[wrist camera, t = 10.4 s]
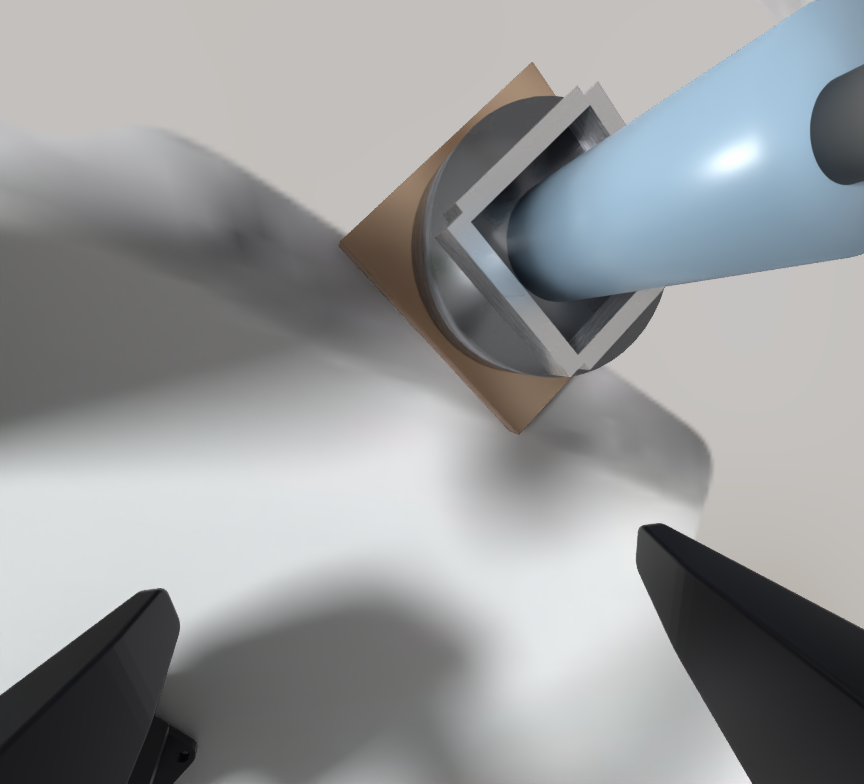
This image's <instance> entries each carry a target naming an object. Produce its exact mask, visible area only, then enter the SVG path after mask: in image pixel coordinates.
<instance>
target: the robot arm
mask: <svg viewBox="0 0 864 784" xmlns="http://www.w3.org/2000/svg"><path fill="white" fill-rule="evenodd" d="M636 565H637V569H638V572H639V574H640V576H641V579H642V581H643V583H644V585H645V587H646V590H647V592H648V594H649V596H650V598H651V600H652V603H653V605H654V607H655V609H656V611H657V613H658V616H659V618H660V620H661V622H662V624H663V627H664V629H665V631H666V633H667V635H668V637H669V640H670V642H671V644H672V646H673V648H674V650H675V652H676V653H677V655H678V657H679V659H680V661H681V662H682V664H683V666H684V668H685V669H686V671H687V673H688V675H689V676H690V678H691V680H692V681H693V683H694V685H695V687H696V688H697V690H698V692H699V693H700V695H701V697H702V699H703V700H704V702H705V704H706V705H707V707H708V709H709V710H710V712H711V714H712V716H713V717H714V719H715V721H716V722H717V724H718V726H719V728H720V729H721V731H722V733H723V734H724V736H725V738H726V740H727V741H728V743H729V745H730V746H731V748H732V750H733V752H734V753H735V755H736V757H737V758H738V760H739V762H740V764H741V765H742V767H743V769H744V770H745V772H746V774H747V776H748V777H749V779H750V781H751V782H752V784H864V629H862V628H860V627H859V626H857V625H855V624H853V623H851V622H849V621H847V620H845V619H843V618H841V617H839V616H838V615H836V614H834V613H832V612H830V611H828V610H826V609H824V608H822V607H820V606H819V605H817V604H815V603H813V602H811V601H809V600H807V599H805V598H803V597H802V596H800V595H798V594H796V593H794V592H792V591H790V590H788V589H786V588H784V587H783V586H781V585H779V584H777V583H775V582H773V581H771V580H769V579H767V578H765V577H764V576H761V575H760V574H758V573H756V572H754V571H752V570H750V569H748V568H746V567H745V566H743V565H741V564H739V563H737V562H735V561H733V560H731V559H729V558H727V557H725V556H723V555H722V554H720V553H718V552H716V551H714V550H712V549H710V548H708V547H706V546H705V545H703V544H701V543H699V542H697V541H695V540H693V539H691V538H689V537H688V536H686V535H684V534H682V533H680V532H678V531H676V530H674V529H672V528H670V527H669V526H667V525H664V524H662V523H656V524H648V525H643V526H641V527H640V528H639V530H638V537H637V550H636ZM179 631H180V622H179V618H178V615H177V613H176V610H175V608H174V606H173V603H172V601H171V599H170V596H169V594H168V592H167V591H166V590H165V589H162V588H157V589H149V590H143V591H140V592H138V593H137V594H135V595H134V596H133V597H131V598H130V599H129V600H127V601H126V602H125V603H123V604H122V605H120V606H119V607H118V608H116V609H115V610H114V611H112V612H111V613H110V614H108V615H107V616H106V617H104V618H103V619H102V620H100V621H99V622H98V623H96V624H95V625H94V626H92V627H91V628H90V629H88V630H87V631H86V632H84V633H83V634H82V635H80V636H79V637H78V638H76V639H75V640H74V641H72V642H71V643H70V644H68V645H67V646H66V647H64V648H63V649H62V650H60V651H59V652H58V653H56V654H55V655H54V656H52V657H51V658H50V659H48V660H47V661H46V662H44V663H43V664H42V665H40V666H39V667H38V668H36V669H35V670H34V671H32V672H31V673H30V674H28V675H27V676H25V677H24V678H23V679H21V680H20V681H19V682H17V683H16V684H15V685H13V686H12V687H11V688H9V689H8V690H7V691H5V692H4V693H3V694H1V695H0V784H173V783H174V782H175V781H176V780H177V779H178V777H179V776H180V775H181V774H182V773H183V772H184V771H185V770H186V769H187V768H188V767H189V766H190V764H191V763H192V762H193V761H194V759H195V756H196V752H197V747H198V746H197V742H195V741H194V740H193V739H192V738H190V737H188V736H187V735H185V734H183V733H182V732H180V731H178V730H176V729H175V728H173V727H171V726H170V725H168V724H167V723H166V722H164V721H162V720H161V719H159V718H157V717H156V716H154V714H155V711H156V708H157V705H158V701H159V698H160V695H161V692H162V688H163V685H164V682H165V678H166V675H167V672H168V668H169V665H170V662H171V659H172V655H173V652H174V649H175V645H176V642H177V639H178V635H179ZM183 751H185V752H188V754H184V755H183V754H180V752H183Z"/></svg>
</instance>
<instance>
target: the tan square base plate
mask: <svg viewBox="0 0 864 784" xmlns="http://www.w3.org/2000/svg"><path fill="white" fill-rule="evenodd" d="M625 125H626V124H625V123H624V121H623V119H622V118H621V116H620V115H619V113H618V112H617V110H616V109H615V107H614V105H613V104H612V102H611V101H610V99H609V98H608V96H607V94H606V93H605V91H604V90H603V88H602V87H601V85H600V84H599V82H597V83H596V84H594V85H593V86H592V87H591V88H590V89H589V90H588V91H586V92H585V93H584V94H583V93H582V91H581V90H580V88H579V87H578V86H576V87H575V88H574V89H573V90H572V91H571V92H570V93H569V94H568V95H566V96H565V97H558V96H555V94H554V93H553V91H552V90H551V88H550V87H549V85H548V84H547V82H546V81H545V79H544V78H543V76H542V75H541V74H540V72H539V71H538V69H537V68H536V66H535V65H534V63H533V62H531V63H530V64H529V65H528V66H527V67H526V68H525V69H524V70H523V71H522V72H521V73H520V74H519V75H517V76H516V77H515V78H514V79H513V80H512V81H511V82H510V83H509V84H508V85H507V86H506V87H505V88H504V89H503V90H501V91H500V92H499V93H498V94H497V95H496V96H495V97H494V98H493V99H492V100H491V101H490V102H489V103H488V104H487V105H486V106H484V107H483V108H482V109H481V110H480V111H479V112H478V113H477V114H476V115H475V116H474V117H473V118H472V119H470V120H469V121H468V122H467V123H466V124H465V125H464V126H463V127H462V128H461V129H460V130H459V131H458V132H457V133H456V134H454V136H452V137H451V138H450V139H449V140H448V141H447V142H446V143H445V144H444V145H443V146H442V147H441V148H439V149H438V151H436V152H435V153H434V154H433V155H432V156H431V157H430V158H429V159H428V160H427V161H426V162H425V163H423V164H422V165H421V166H420V167H419V168H418V169H417V170H416V171H415V172H414V173H413V174H412V175H411V176H410V177H409V178H407V179H406V180H405V181H404V182H403V183H402V184H401V185H400V186H399V187H398V188H397V189H396V190H395V191H394V192H393V193H391V195H389V196H388V197H387V198H386V199H385V200H384V201H383V202H382V203H381V204H380V205H379V206H378V207H377V208H375V209H374V210H373V211H372V212H371V213H370V214H369V215H368V216H367V217H366V218H365V219H364V220H363V221H361V222H360V223H359V225H357V226H356V227H355V228H354V229H353V230H352V231H351V232H350V233H349V234H348V235H347V236H345V237H344V238H343V239H342V240H341V242H340V244H339V246H340V248H341V249H342V250H343V251H344V252H345V253H346V254H347V255H348V256H349V257H350V258H351V259H352V261H353V262H354V263H355V264H356V265H357V266H358V267H359V268H360V269H361V270H362V271H363V272H364V274H365V275H366V276H367V277H368V278H369V279H370V280H371V281H372V282H373V283H374V284H375V285H376V287H377V288H378V289H379V290H380V291H381V292H382V293H383V294H384V295H385V296H386V297H387V298H388V300H389V301H390V302H391V303H392V304H393V305H394V306H395V307H396V308H397V309H398V310H399V311H400V313H401V314H402V315H403V316H404V317H405V318H406V319H407V320H408V321H409V322H410V323H411V324H412V326H413V327H414V328H415V329H416V330H417V331H418V332H419V333H420V334H421V335H422V336H423V337H424V339H425V340H426V341H427V342H428V343H429V344H430V345H431V346H432V347H433V348H434V349H435V350H436V352H437V353H438V354H439V355H440V356H441V357H442V358H443V359H444V360H445V361H446V362H447V363H448V365H449V366H450V367H451V368H452V369H453V370H454V371H455V372H456V373H457V374H458V375H459V376H460V378H461V379H462V380H463V381H464V382H465V383H466V384H467V385H468V386H469V387H470V388H471V389H472V391H473V392H474V393H475V394H476V395H477V396H478V397H479V398H480V399H481V400H482V401H483V402H484V404H485V405H486V406H487V407H488V408H489V409H490V410H491V411H492V412H493V413H494V414H495V415H496V417H497V418H498V419H499V420H500V421H501V422H502V423H503V424H504V425H505V426H506V427H507V428H508V430H509V431H511V432H514V433H516V434H520V433H521V432H522V431H523V430H524V429H525V427H526V426H527V425H528V424H529V423H530V422H531V421H532V420H533V419H534V418H535V417H536V415H537V414H538V413H539V412H540V411H541V410H542V409H543V408H544V407H545V406H546V404H547V403H548V402H549V401H550V400H551V399H552V398H553V397H554V396H555V395H556V394H557V392H558V391H559V390H560V389H561V388H562V387H563V386H564V385H565V384H566V383H567V381H568V380H569V379H570V378H571V377H572V376H575V375H579V374H584V373H587V372H589V371H592V370H595V369H597V368H599V367H601V366H603V365H605V364H607V363H608V362H610V361H612V360H613V359H615V358H616V357H617V356H619V355H620V354H621V353H623V352H624V351H625V350H626V349H627V348H628V347H629V346H630V345H631V344H632V343H633V342H634V341H635V340H636V339H637V337H638V336H639V335H640V334H641V333H642V331H643V330H644V329H645V327H646V326H647V324H648V322H649V321H650V319H651V318H652V316H653V314H654V312H655V310H656V308H657V306H658V304H659V302H660V299H661V296H662V293H663V290H664V288H665V287H666V286H665V287H659V288H653V289H646V290H640V291H633V292H627V293H621V294H614V295H608V296H602V297H595V298H589V299H582V300H576V301H570V302H551V301H547V300H544V299H542V298H540V297H538V296H536V295H534V294H533V293H531V292H530V291H529V290H528V289H527V288H526V287H525V286H524V285H523V284H522V283H521V282H520V280H519V279H518V278H517V276H516V274H515V273H514V271H513V268H512V266H511V263H510V260H509V257H508V252H507V243H506V235H507V227H508V222H509V219H510V215H511V213H512V211H513V209H514V207H515V205H516V203H517V202H518V201H519V199H520V198H521V197H522V196H523V195H524V194H525V193H526V192H527V191H528V190H529V189H531V188H532V187H533V186H535V185H536V184H538V183H539V182H541V181H542V180H544V179H545V178H547V177H548V176H550V175H551V174H553V173H555V172H556V171H558V170H559V169H561V168H562V167H564V166H565V165H567V164H568V163H570V162H571V161H573V160H574V159H576V158H577V157H579V156H580V155H582V154H583V153H585V152H586V151H588V150H589V149H591V148H592V147H594V146H595V145H597V144H598V143H600V142H601V141H603V140H604V139H606V138H607V137H609V136H610V135H612V134H613V133H615V132H616V131H618V130H619V129H621V128H622V127H624V126H625Z"/></svg>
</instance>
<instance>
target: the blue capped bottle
mask: <svg viewBox="0 0 864 784" xmlns="http://www.w3.org/2000/svg"><path fill="white" fill-rule="evenodd" d="M506 243H507V252H508V257H509V260H510V263H511V266H512V268H513V271H514V273H515V274H516V276H517V278H518V279H519V280H520V282H521V283H522V284H523V285H524V286H525V287H526V288H527V289H528V290H529V291H530V292H531V293H533V294H534V295H536V296H538V297H540V298H542V299H544V300H547V301H551V302H570V301H576V300H582V299H589V298H595V297H602V296H608V295H614V294H621V293H627V292H633V291H640V290H646V289H653V288H659V287H665V286H671V285H677V284H684V283H691V282H697V281H703V280H710V279H716V278H723V277H729V276H735V275H742V274H748V273H754V272H761V271H767V270H774V269H779V268H786V267H793V266H799V265H805V264H812V263H818V262H824V261H830V260H837V259H843V258H849V257H854V256H858V255H861V254H863V253H864V0H815V1H813V2H811V3H809V4H807V5H806V6H804V7H803V8H801V9H800V10H798V11H797V12H795V13H794V14H792V15H791V16H789V17H788V18H786V19H785V20H783V21H782V22H780V23H779V24H777V25H776V26H774V27H773V28H771V29H770V30H768V31H767V32H765V33H764V34H762V35H761V36H759V37H758V38H756V39H755V40H753V41H752V42H750V43H749V44H747V45H746V46H744V47H743V48H742V49H740V50H738V51H737V52H735V53H734V54H732V55H731V56H729V57H728V58H726V59H725V60H723V61H722V62H720V63H719V64H717V65H716V66H714V67H712V68H711V69H709V70H708V71H707V72H705V73H704V74H702V75H701V76H699V77H698V78H696V79H694V80H693V81H691V82H690V83H688V84H687V85H685V86H684V87H682V88H681V89H679V90H678V91H676V92H675V93H673V94H672V95H671V96H669V97H668V98H666V99H664V100H663V101H662V102H660V103H659V104H657V105H655V106H654V107H652V108H651V109H649V110H648V111H646V112H645V113H644V114H642V115H640V116H639V117H637V118H636V119H634V120H633V121H631V122H630V123H628V124H627V125H625V126H624V127H622V128H621V129H619V130H618V131H616V132H615V133H613V134H612V135H610V136H609V137H607V138H606V139H604V140H603V141H601V142H600V143H598V144H597V145H595V146H594V147H592V148H591V149H589V150H588V151H586V152H585V153H583V154H582V155H580V156H579V157H577V158H576V159H574V160H573V161H571V162H570V163H568V164H567V165H565V166H564V167H562V168H561V169H559V170H558V171H556V172H555V173H553V174H551V175H550V176H548V177H547V178H545V179H544V180H542V181H541V182H539V183H538V184H536V185H535V186H533V187H532V188H531V189H529V190H528V191H527V192H526V193H525V194H524V195H523V196H522V197H521V198H520V199H519V201H518V202H517V203H516V205H515V207H514V209H513V211H512V213H511V215H510V219H509V222H508V227H507V235H506Z"/></svg>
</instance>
